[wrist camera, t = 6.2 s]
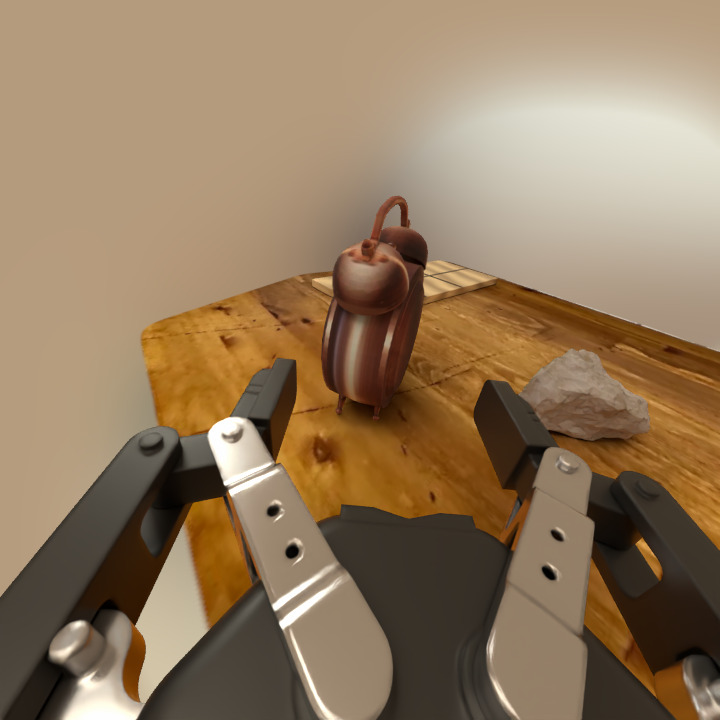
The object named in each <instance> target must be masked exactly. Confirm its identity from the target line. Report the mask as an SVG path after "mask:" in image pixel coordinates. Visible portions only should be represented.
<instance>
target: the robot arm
mask: <svg viewBox="0 0 720 720" xmlns="http://www.w3.org/2000/svg"><path fill="white" fill-rule="evenodd" d="M296 393H297V376H296V360H292V359H282V358H277V359H276V361H275V363H274V365H273V367H272V369H262V370H260V371H259V372H258V373H256V374H255V375H254V376H253V377H252V379H251V381H250V383H249V386H247V388H246V389H245V393H243V395H242V396H241V398H240V400H239V402H238V403H237V405H236V407H235V408H234V410H233V412H232V414H231V415H230V417H229V418H227V419H224V420H222V421H220V422H218V423H216V424H215V425H214V426H213V427H212V428H211V429H210V431H209V432H208V433H204V434H199V435H192V436H185V437H179V435H178V432H177V431H176V430H175V429H173V428H170V427H165V426H159V427H153V428H150V429H146V430H144V431H142V432H140V433H138V434H136V435H135V436H133V437H132V438H131V439H130V440H129V441H128V442H127V443H126V444H125V446H124V447H123V448H122V449H121V450H120V452H119V453H118V454H117V455H116V456H115V458H114V459H113V460H112V461H111V463H110V464H109V465H108V466H107V467H106V469H105V470H104V471H103V472H102V474H101V475H100V476H99V477H98V479H97V480H96V481H95V482H94V483H93V485H92V486H91V487H90V488H89V489H88V491H87V492H86V493H85V494H84V496H83V497H82V498H81V499H80V500H79V502H78V503H77V504H76V505H75V506H74V508H73V509H72V510H71V511H70V513H69V514H68V515H67V516H66V518H65V519H64V520H63V521H62V522H61V524H60V525H59V526H58V527H57V528H56V530H55V531H54V532H53V533H52V535H51V536H50V537H49V538H48V540H47V541H46V542H45V543H44V544H43V546H42V547H41V548H40V549H39V550H38V552H37V553H36V554H35V555H34V557H33V558H32V559H31V560H30V562H29V563H28V564H27V565H26V567H25V568H24V569H23V570H22V571H21V572H20V574H19V575H18V576H17V578H16V579H15V580H14V581H13V582H12V584H11V585H10V586H9V587H8V589H7V590H6V591H5V592H4V593H3V595H2V596H1V597H0V720H720V551H719V549H718V548H717V547H716V546H715V545H714V544H713V543H712V541H711V540H710V539H709V538H708V537H707V536H706V535H705V533H704V532H703V531H702V530H701V529H700V528H699V527H698V525H697V524H696V523H695V522H694V521H693V520H692V519H691V517H690V516H689V515H688V514H687V513H686V512H685V511H684V509H683V508H682V507H681V506H680V505H679V504H678V503H677V501H676V500H675V499H674V498H673V497H672V496H671V494H670V493H669V492H668V491H667V490H666V489H665V488H664V487H662V486H661V485H660V484H659V483H657V482H656V481H654V480H652V479H651V478H649V477H647V476H645V475H643V474H640V473H637V472H633V471H624V472H622V473H621V474H620V475H619V476H618V477H617V478H616V479H612V478H609V477H606V476H603V475H600V474H597V473H594V472H591V470H590V468H589V466H588V465H587V464H586V463H585V462H584V461H583V460H582V459H581V458H580V457H578V456H577V455H575V454H574V453H572V452H570V451H568V450H565V449H562V448H559V446H558V445H557V443H556V442H555V441H554V439H553V438H552V436H551V435H550V433H549V432H548V430H547V429H546V427H545V426H544V425H543V423H542V422H540V421H541V420H540V419H539V417H538V416H537V415H536V414H535V411H534V410H533V409H532V407H531V406H530V404H529V403H528V402H527V401H525V400H524V399H523V398H522V397H521V396H519V395H516V394H515V393H514V391H513V390H512V388H511V386H510V385H509V384H508V383H507V382H505V381H495V380H487V381H486V382H485V384H484V386H483V388H482V391H481V393H480V396H479V398H478V401H477V403H476V406H475V409H474V421H475V424H476V426H477V429H478V431H479V434H480V436H481V438H482V441H483V443H484V446H485V448H486V450H487V453H488V455H489V458H490V460H491V462H492V465H493V467H494V470H495V472H496V474H497V477H498V479H499V482H500V484H501V486H502V489H509V490H516V492H517V494H518V495H517V497H516V498H515V500H514V502H513V505H512V507H511V510H510V512H509V515H508V517H507V520H506V523H505V525H504V528H503V530H502V533H501V535H500V538H499V540H498V539H496V538H495V537H493V536H492V535H490V534H488V533H487V532H485V531H482V530H480V529H478V528H476V527H475V524H474V521H473V517H472V516H467V515H456V514H444V513H438V514H433V515H427V516H422V517H417V518H411V519H408V518H404V517H401V516H398V515H395V514H392V513H389V512H386V511H383V510H380V509H377V508H374V507H365V506H354V505H342V504H341V513H340V515H336V516H332V517H329V518H326V519H323V520H321V521H319V522H317V523H316V522H315V521H314V519H313V517H312V515H311V514H310V512H309V510H308V508H307V507H306V505H305V503H304V501H303V500H302V498H301V496H300V494H299V493H298V491H297V489H296V487H295V486H294V484H293V482H292V480H291V479H290V477H289V475H288V473H287V472H286V470H285V468H284V467H283V465H282V464H281V463H278V464H275V462H276V459H277V456H278V453H279V450H280V447H281V444H282V441H283V438H284V435H285V432H286V429H287V426H288V423H289V420H290V417H291V414H292V411H293V408H294V404H295V400H296ZM217 497H222V498H223V501H224V504H225V507H226V510H227V513H228V515H229V518H230V521H231V524H232V527H233V530H234V533H235V536H236V538H237V541H238V545H239V548H240V551H241V555H242V558H243V561H244V564H245V568H246V571H247V573H248V576H249V579H250V582H251V585H252V586H251V587H250V588H249V589H248V590H247V591H246V592H245V594H244V595H243V596H242V597H241V598H240V599H239V600H238V601H237V602H236V603H235V604H234V605H233V606H232V607H231V608H230V609H229V610H228V611H227V612H226V613H225V614H224V615H223V616H222V617H221V619H220V620H219V621H218V622H217V623H216V624H215V625H214V626H213V627H212V628H211V629H210V630H209V631H208V632H207V633H206V634H205V635H204V636H203V637H202V638H201V639H200V640H199V642H198V643H197V644H196V645H195V646H194V647H193V648H192V649H191V650H190V651H189V652H188V653H187V654H186V655H185V656H184V657H183V658H182V659H181V660H180V661H179V662H178V663H177V665H176V666H175V667H174V668H173V669H172V670H171V671H170V672H169V673H168V674H167V675H166V676H165V677H164V679H163V680H162V681H161V682H160V683H159V685H158V686H157V687H156V689H155V690H154V691H153V693H152V694H151V696H150V697H149V699H148V700H147V702H146V703H141V702H140V699H139V694H138V682H139V676H140V673H141V669H142V666H143V662H144V659H145V653H146V645H145V641H144V638H143V636H142V635H141V633H140V632H139V631H138V630H137V628H136V627H135V625H136V623H137V621H138V618H139V616H140V614H141V612H142V610H143V608H144V605H145V604H146V601H147V599H148V597H149V595H150V593H151V591H152V589H153V586H154V584H155V582H156V580H157V578H158V576H159V574H160V572H161V569H162V567H163V565H164V563H165V561H166V559H167V557H168V555H169V553H170V551H171V548H172V546H173V544H174V542H175V540H176V538H177V536H178V534H179V531H180V529H181V527H182V525H183V523H184V521H185V519H186V517H187V514H188V512H189V510H190V508H191V506H192V504H193V503H194V502H199V501H203V500H208V499H213V498H217ZM642 537H643V539H644V540H645V542H646V543H647V545H648V546H649V547H650V549H651V550H652V552H653V553H654V555H655V556H656V558H657V559H658V561H659V562H660V564H661V567H662V571H663V576H662V579H661V581H659V580H658V578H657V577H656V575H655V574H654V572H653V571H652V569H651V568H650V566H649V565H648V563H647V562H646V560H645V559H644V557H643V555H642V554H641V552H640V551H639V549H638V548H637V546H636V545H635V544H636V543H637V542H638V541H639V540H640V539H641V538H642ZM591 557H592V559H593V561H594V563H595V565H596V567H597V568H598V570H599V572H600V574H601V576H602V578H603V580H604V582H605V584H606V586H607V588H608V589H609V591H610V593H611V595H612V597H613V599H614V601H615V603H616V605H617V607H618V609H619V611H620V612H621V614H622V616H623V618H624V620H625V622H626V624H627V626H628V628H629V630H630V632H631V633H632V635H633V637H634V639H635V641H636V643H637V645H638V647H639V649H640V651H641V653H642V655H643V656H644V658H645V660H646V662H647V664H648V666H649V668H650V670H651V672H652V674H653V676H654V688H655V693H656V696H657V698H656V697H655V696H654V695H653V694H652V693H651V692H650V691H649V690H648V689H647V688H646V687H645V686H644V685H643V684H642V683H641V682H640V681H639V680H638V679H637V678H636V677H635V676H634V675H633V674H632V673H631V672H630V671H629V670H628V669H627V668H626V667H625V666H624V665H623V664H622V663H621V662H620V661H619V660H618V658H617V657H616V656H615V655H614V654H613V653H612V652H611V651H610V650H609V649H608V648H607V647H606V646H605V645H604V644H603V643H602V642H601V641H600V640H599V639H598V638H597V637H596V636H595V635H594V634H593V633H592V632H591V631H590V630H589V629H588V628H587V627H586V626H585V625H584V615H585V606H586V597H587V589H588V580H589V571H590V562H591Z"/></svg>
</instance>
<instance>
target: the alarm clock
mask: <svg viewBox="0 0 720 720" xmlns="http://www.w3.org/2000/svg"><path fill="white" fill-rule="evenodd" d="M396 204H399V206H400V209H401V226H392V227H388V228H385V229H383V230H382V226H383V222H384V219H385V217H386V214H387V213H388V212H389V210H390V209H391V208H392V207H393V206H395V205H396ZM410 225H411V224H410V220H408V205H407V203H406V201H405V199H403V198H402V197H400V196H394V197H391V198H389V199H388V200H387V201H386V202H385V203H384V204H383V205H382V206H381V207H380V209H379V211H378V213H377V215H376V219H375V222H374V226H373V230H372V234H371V238H370V240H368V239H365V240H364V241H363V242H359V243H357V244H354V245H352V246H350V247H349V248H347V249H346V250H344V252H343V253H342V254H341V255H340V256H339V258H338V259H337V261H336V263H335V266H334V270H333V275H332V287H333V294H334V295H333V298H332V301H331V304H330V307H329V310H328V314H327V318H326V321H325V327H324V332H323V338H322V354H321V360H322V371H323V377H324V381H325V384H326V386H327V387H328V388H329V389H330V390H332V391H334V392H336V393H338V394H339V402H338V408H337V409H336V413H337V414H340V413H342V407H343V405H344V402H345V400H346V398H349V399H351V400H354V401H357V402H360V403H364V404H369V405H374V416H373V420H375V421H376V420H378V419H379V416H378V414H379V410H380V407H383V408H385V407H386V406H387V405H388V404H389V402H390V400H391V398H392V397H393V394H394V392H395V391H396V390H397V389H398V388H399V386H400V384H401V381H402V379H403V377H404V374H405V371H406V368H407V366H408V362H409V359H410V356H411V353H412V349H413V346H414V342H415V339H416V335H417V331H418V327H419V322H420V318H421V313H422V307H423V301H424V287H423V281H424V270H425V269H426V265H427V257H428V250H427V244H426V242H425V240H424V239H423V237H422V236H421V235H420V234H419V233H417V232H416V231H414V230H412V229H410Z"/></svg>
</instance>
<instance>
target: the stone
mask: <svg viewBox="0 0 720 720" xmlns="http://www.w3.org/2000/svg"><path fill="white" fill-rule="evenodd" d="M518 395H519V396H521V397H522V398H523V399H524V400H525V401H527V402H528V403H529V404H530V406H531V407H532V409H533V410H534V411H535V414H536V415H537V416H538V417H539V419H540V420H541V421H540V422H542V423H543V425H544V426H545V427H546V429H547V430H552V431H556V432H560V433H564V434H566V435H568V436H571V437H574V438H581V439H584V440H590V441H594V440H597V439H599V438H602V437H605V438H621V439H629V438H631V436H633V435H635V434H640V433H647V432H648V431H649V428H650V426H649V421H650V417H649V415H648V409H647V408H648V404H647V402H646V400H645V399H643V398H642V397H641V396H638V395H635V394H633V393H631V392H629V391H628V390H626V389H625V388H624V387H623V386H622V384H621V383H620V382H618V381H617V380H614V379H612V378H611V377H610V376H609V375H608V374H607V373H606V370H605V369H604V368H603V367H602V365H601V361H600V358H599V357H598V356H597V355H596V354H594V353H593V352H588V351H586V350H585V349H582V350H580V351H578V352H577V351H576V350H575V349H573V348H572V349H570V350H568V351H567V352H566V353H565V354H564V355H563V356H562V357H558V358H555V359H553V361H552V362H550V363H549V364H548V365H547V366H545V367H542V368H541V369H540V370H539V371H538V372H537V373H536V375H535V376H534V377H533V378H532V379H531V380H530V381H529V383H528V384H527V385H526V386H525V387H524V389H523V391H522V392H521V393H519V394H518Z"/></svg>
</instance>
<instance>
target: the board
mask: <svg viewBox="0 0 720 720" xmlns="http://www.w3.org/2000/svg"><path fill="white" fill-rule="evenodd" d="M497 279H498V278H496V277H492V276H489V275H486V274H483V273H479V272H476V271H473V270H470V269H468V268H463V267H460V266H457V265H454V264H450V263H447V262H444V261H440V260H438V261H432V262H427V265H426V269H425V270H424V281H423V287H424V301H423V304H427V303H430V302H434V301H437V300H441V299H444V298H448V297H451V296H455V295H458V294H462V293H465V292H469V291H472V290H476V289H479V288H483V287H487V286H490V285H494V284H496V282H497ZM312 287H314V288H316V289H318V290H320V291H322V292H323V293H325V294H327V295H329V296H331V297H333V295H334V294H333V287H332V276H331V277H324V278H317V279H312Z"/></svg>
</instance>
